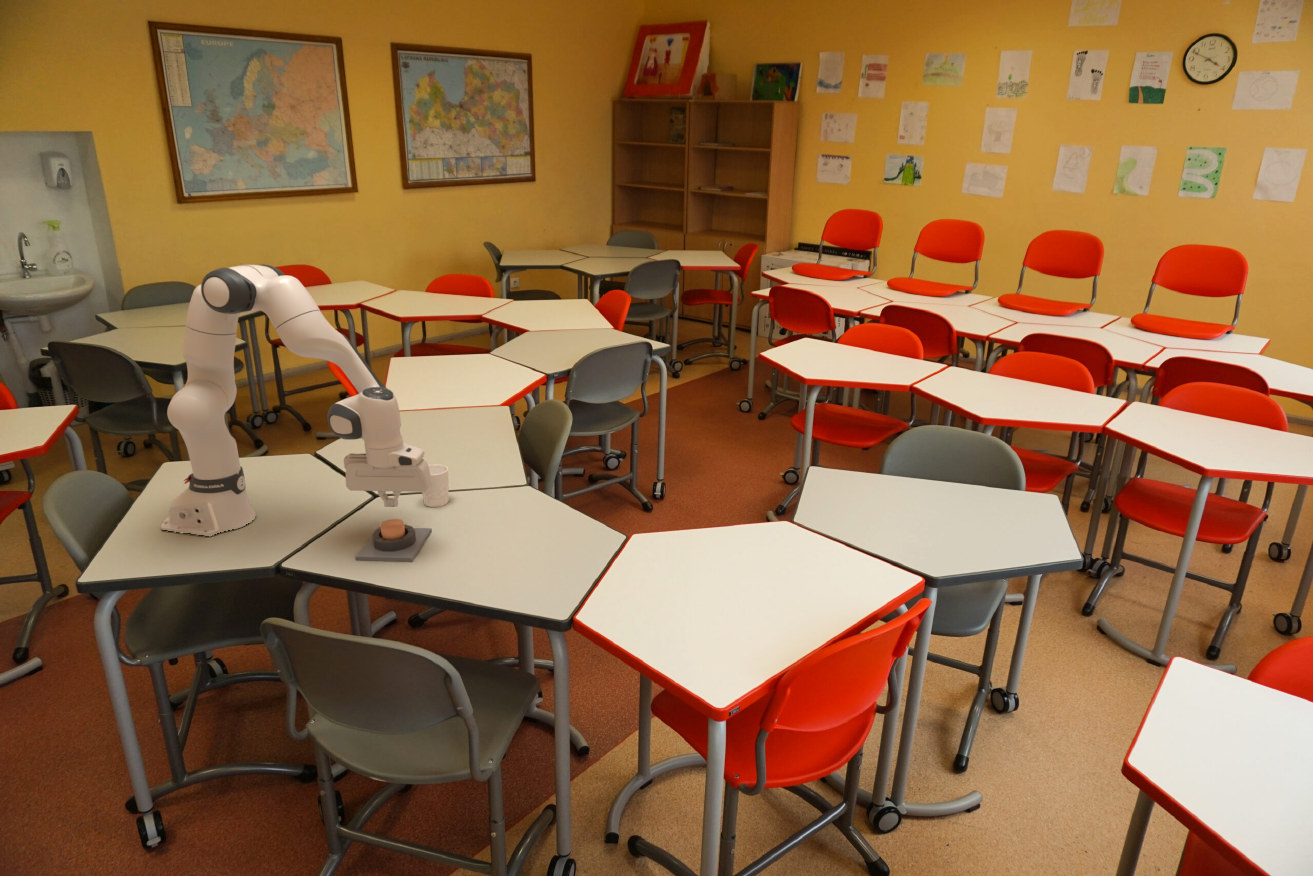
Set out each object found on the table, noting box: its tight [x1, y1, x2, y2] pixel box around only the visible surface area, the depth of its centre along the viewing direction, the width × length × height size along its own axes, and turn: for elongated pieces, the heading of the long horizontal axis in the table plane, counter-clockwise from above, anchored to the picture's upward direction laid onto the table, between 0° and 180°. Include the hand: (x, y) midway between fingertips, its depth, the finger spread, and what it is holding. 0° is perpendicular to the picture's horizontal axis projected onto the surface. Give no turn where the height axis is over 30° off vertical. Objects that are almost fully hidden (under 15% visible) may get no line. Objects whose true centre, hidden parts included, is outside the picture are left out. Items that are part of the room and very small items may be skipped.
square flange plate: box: [354, 523, 433, 563], centre depth 204 cm, size 14×16×4 cm
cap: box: [380, 518, 405, 540], centre depth 203 cm, size 6×6×5 cm
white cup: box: [421, 463, 450, 508], centre depth 227 cm, size 8×8×10 cm
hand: (391, 505), depth 201 cm, fingers closed
